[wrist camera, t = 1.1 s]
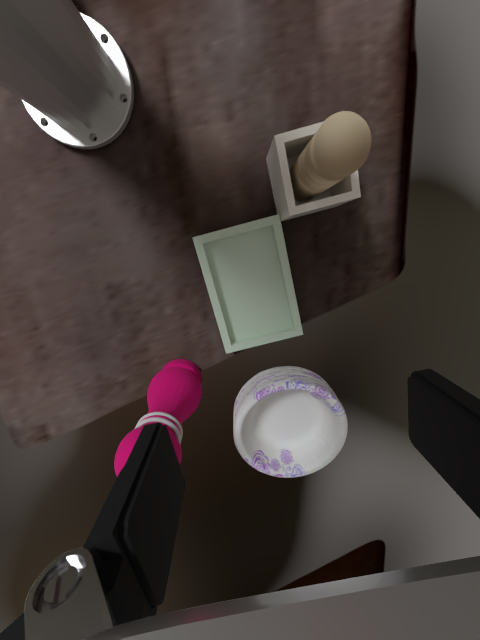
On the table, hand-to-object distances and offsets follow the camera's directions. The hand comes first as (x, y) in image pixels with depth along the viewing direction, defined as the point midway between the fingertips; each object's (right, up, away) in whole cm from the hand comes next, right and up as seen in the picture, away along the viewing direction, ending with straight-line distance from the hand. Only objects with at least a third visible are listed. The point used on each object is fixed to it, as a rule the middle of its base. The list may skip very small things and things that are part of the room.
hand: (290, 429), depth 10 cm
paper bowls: (+5, -9, +32) cm, 33 cm away
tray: (-1, +9, +26) cm, 28 cm away
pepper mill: (-11, -5, +30) cm, 32 cm away
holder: (+6, +22, +23) cm, 32 cm away
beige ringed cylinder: (+6, +21, +22) cm, 31 cm away
